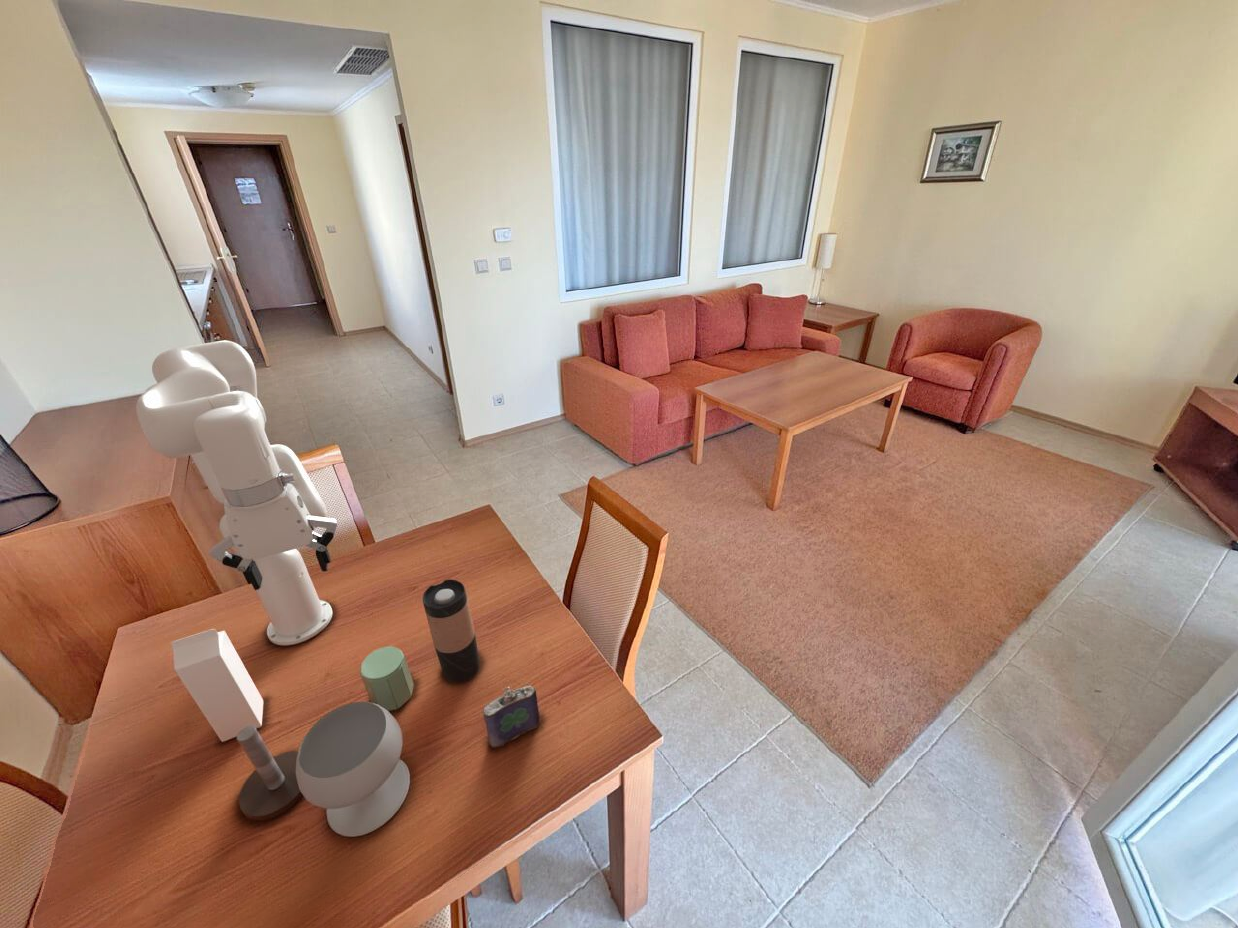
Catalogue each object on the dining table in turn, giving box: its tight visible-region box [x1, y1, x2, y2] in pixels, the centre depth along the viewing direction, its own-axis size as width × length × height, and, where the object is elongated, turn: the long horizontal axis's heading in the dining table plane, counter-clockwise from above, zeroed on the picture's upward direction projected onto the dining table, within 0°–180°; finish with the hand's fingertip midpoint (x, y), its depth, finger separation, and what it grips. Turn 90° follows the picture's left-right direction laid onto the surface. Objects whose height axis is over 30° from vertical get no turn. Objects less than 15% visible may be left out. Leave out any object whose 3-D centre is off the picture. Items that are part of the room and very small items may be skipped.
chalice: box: [296, 701, 411, 838], centre depth 75 cm, size 14×14×15 cm
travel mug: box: [422, 579, 480, 683], centre depth 95 cm, size 8×8×20 cm
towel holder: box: [236, 726, 304, 821], centre depth 77 cm, size 10×10×14 cm
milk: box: [169, 628, 264, 743], centre depth 85 cm, size 6×6×22 cm
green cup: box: [360, 645, 415, 712], centre depth 93 cm, size 7×7×9 cm
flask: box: [482, 685, 541, 748], centre depth 85 cm, size 9×3×11 cm, turn 121°
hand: (292, 575), depth 83 cm, fingers open, 9 cm apart
